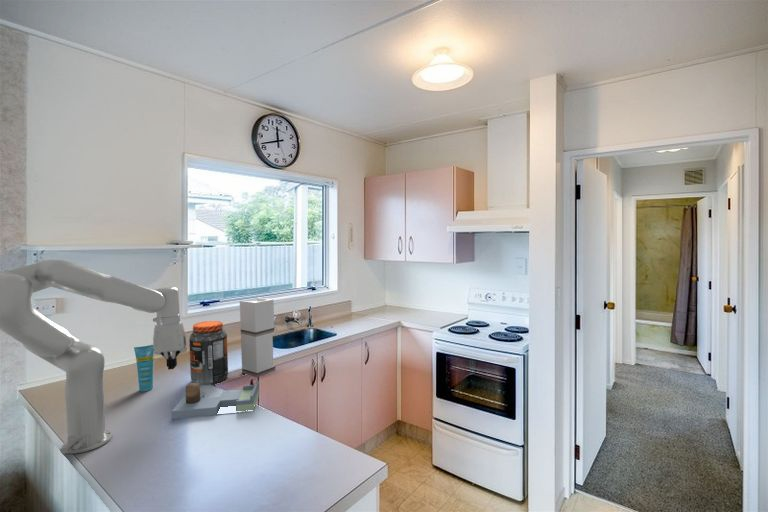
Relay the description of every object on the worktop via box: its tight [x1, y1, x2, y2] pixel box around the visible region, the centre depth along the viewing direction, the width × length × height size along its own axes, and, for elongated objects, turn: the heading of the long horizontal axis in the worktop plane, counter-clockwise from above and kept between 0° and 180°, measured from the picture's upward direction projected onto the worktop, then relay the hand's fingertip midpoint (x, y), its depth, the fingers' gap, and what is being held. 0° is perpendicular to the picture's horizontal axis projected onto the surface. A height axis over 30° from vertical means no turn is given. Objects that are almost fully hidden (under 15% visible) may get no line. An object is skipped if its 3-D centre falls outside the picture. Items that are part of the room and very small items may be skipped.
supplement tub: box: [188, 320, 229, 385], centre depth 173 cm, size 16×16×26 cm
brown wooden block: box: [184, 382, 201, 404], centre depth 144 cm, size 5×5×6 cm
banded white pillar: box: [239, 297, 276, 378], centre depth 182 cm, size 11×11×35 cm
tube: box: [133, 344, 155, 392], centre depth 162 cm, size 7×5×19 cm, turn 123°
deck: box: [171, 380, 260, 420], centre depth 145 cm, size 15×28×6 cm, turn 101°
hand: (172, 368), depth 142 cm, fingers closed
